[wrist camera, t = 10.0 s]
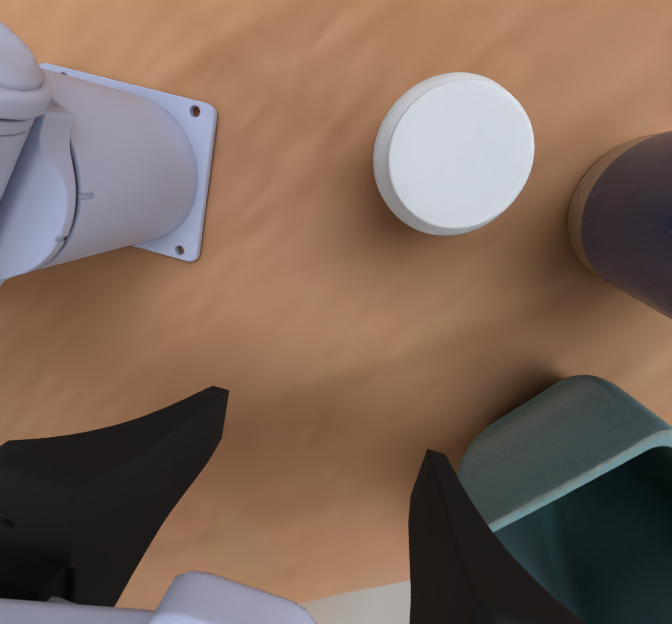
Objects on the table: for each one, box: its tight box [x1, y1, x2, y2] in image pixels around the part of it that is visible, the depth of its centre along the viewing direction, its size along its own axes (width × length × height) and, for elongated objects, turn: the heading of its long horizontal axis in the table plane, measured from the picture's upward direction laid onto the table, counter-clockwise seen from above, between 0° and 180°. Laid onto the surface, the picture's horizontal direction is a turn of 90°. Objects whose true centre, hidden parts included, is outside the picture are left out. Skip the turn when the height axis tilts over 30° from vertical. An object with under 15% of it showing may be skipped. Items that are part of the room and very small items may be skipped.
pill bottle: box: [373, 72, 535, 236], centre depth 16 cm, size 5×5×9 cm
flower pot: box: [458, 375, 672, 624], centre depth 19 cm, size 9×9×9 cm
